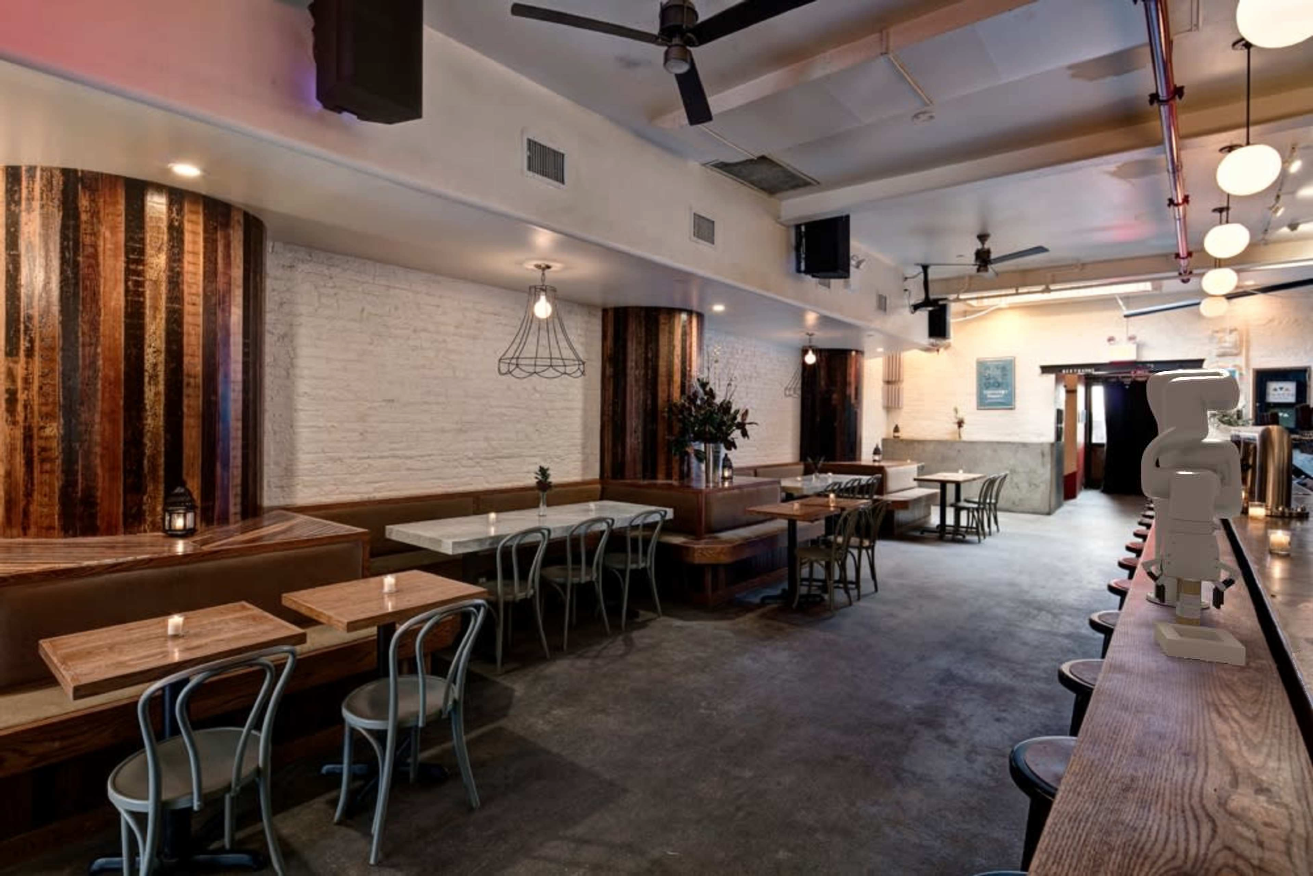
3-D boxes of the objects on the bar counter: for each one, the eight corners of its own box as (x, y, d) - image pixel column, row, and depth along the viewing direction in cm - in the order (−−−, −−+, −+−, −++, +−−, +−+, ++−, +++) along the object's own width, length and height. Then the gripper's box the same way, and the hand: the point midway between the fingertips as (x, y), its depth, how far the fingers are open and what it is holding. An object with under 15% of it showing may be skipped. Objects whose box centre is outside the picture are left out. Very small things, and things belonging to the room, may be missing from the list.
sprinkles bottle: (1177, 625, 150) (1179, 566, 149) (1203, 631, 146) (1205, 570, 146) (1172, 630, 147) (1173, 569, 146) (1198, 635, 143) (1199, 573, 143)
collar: (1154, 637, 142) (1154, 621, 142) (1226, 646, 136) (1226, 629, 136) (1166, 655, 131) (1167, 638, 131) (1245, 666, 126) (1245, 648, 126)
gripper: (1236, 528, 145) (1233, 605, 145) (1139, 522, 153) (1137, 596, 153) (1247, 533, 138) (1245, 614, 139) (1145, 526, 146) (1143, 603, 147)
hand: (1188, 604), depth 146 cm, fingers open, 9 cm apart
